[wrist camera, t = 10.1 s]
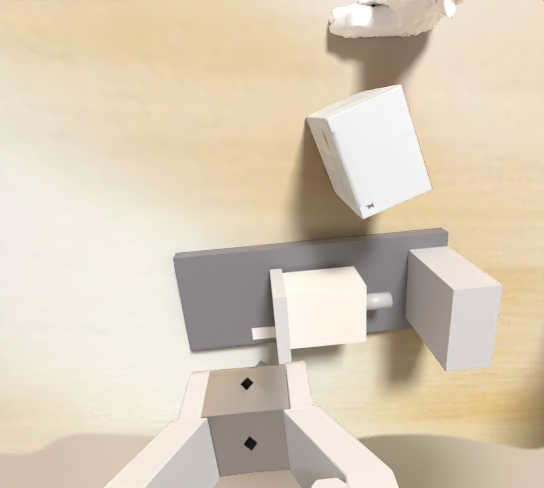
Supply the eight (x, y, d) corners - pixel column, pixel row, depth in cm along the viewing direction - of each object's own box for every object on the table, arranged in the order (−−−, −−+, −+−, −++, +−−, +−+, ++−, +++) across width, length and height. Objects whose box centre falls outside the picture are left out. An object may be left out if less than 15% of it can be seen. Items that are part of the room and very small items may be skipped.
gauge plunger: (276, 343, 40) (280, 381, 35) (269, 269, 37) (272, 298, 32) (381, 332, 40) (401, 369, 35) (382, 258, 37) (406, 285, 32)
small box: (385, 170, 36) (435, 192, 26) (333, 193, 37) (363, 223, 27) (360, 89, 34) (404, 81, 24) (303, 115, 34) (324, 118, 24)
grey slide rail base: (192, 341, 42) (174, 413, 32) (176, 253, 38) (149, 302, 28) (433, 318, 43) (488, 380, 33) (441, 227, 39) (505, 268, 29)
